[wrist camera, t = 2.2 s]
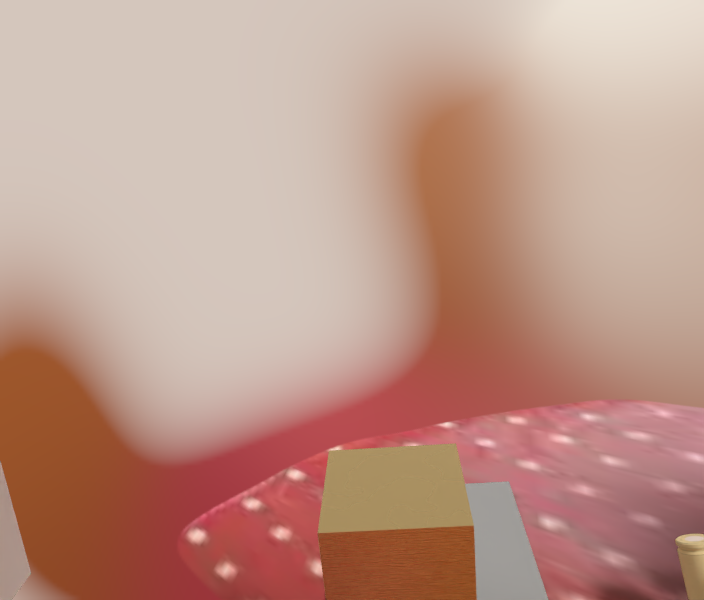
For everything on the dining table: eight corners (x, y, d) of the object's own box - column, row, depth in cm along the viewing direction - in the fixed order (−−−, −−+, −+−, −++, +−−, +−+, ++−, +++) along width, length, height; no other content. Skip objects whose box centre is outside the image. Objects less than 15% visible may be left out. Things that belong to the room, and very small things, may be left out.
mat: (508, 486, 42) (508, 481, 42) (552, 617, 32) (552, 610, 31) (342, 495, 43) (341, 490, 43) (330, 626, 32) (329, 620, 32)
